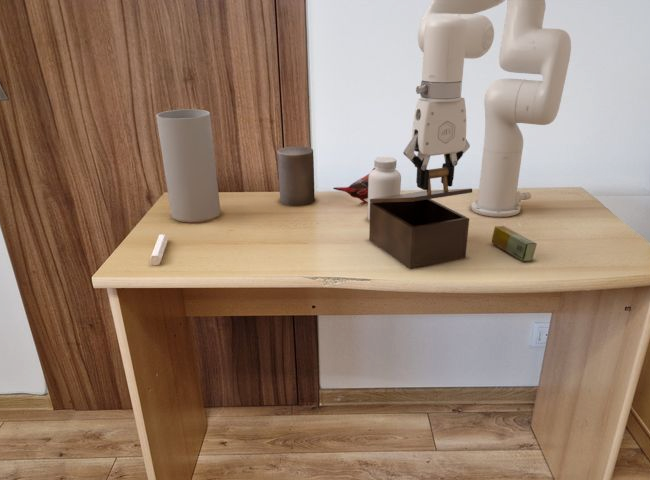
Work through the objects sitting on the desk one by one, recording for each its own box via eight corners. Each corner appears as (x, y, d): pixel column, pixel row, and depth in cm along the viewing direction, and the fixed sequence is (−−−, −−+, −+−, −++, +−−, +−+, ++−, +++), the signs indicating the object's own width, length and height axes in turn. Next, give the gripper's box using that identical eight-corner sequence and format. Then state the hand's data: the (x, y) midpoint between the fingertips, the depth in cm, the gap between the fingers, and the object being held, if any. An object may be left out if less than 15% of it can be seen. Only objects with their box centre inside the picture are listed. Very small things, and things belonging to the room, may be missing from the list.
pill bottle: (397, 225, 152) (399, 163, 145) (365, 223, 154) (365, 162, 146) (401, 215, 159) (403, 155, 151) (370, 213, 160) (371, 154, 153)
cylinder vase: (187, 227, 153) (172, 121, 140) (163, 215, 161) (146, 114, 148) (230, 216, 160) (219, 114, 147) (205, 205, 168) (193, 107, 155)
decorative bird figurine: (389, 201, 170) (391, 164, 165) (336, 213, 161) (336, 174, 156) (383, 198, 172) (384, 161, 167) (330, 210, 163) (329, 172, 158)
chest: (465, 258, 134) (469, 218, 129) (410, 269, 129) (412, 228, 124) (420, 231, 149) (422, 194, 144) (369, 240, 144) (369, 202, 139)
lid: (472, 192, 126) (470, 164, 125) (413, 201, 122) (411, 172, 120) (422, 194, 144) (420, 169, 142) (370, 202, 139) (367, 176, 138)
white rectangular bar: (166, 241, 146) (157, 267, 132) (157, 238, 146) (148, 263, 132) (170, 232, 145) (162, 257, 132) (161, 228, 145) (152, 252, 131)
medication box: (533, 261, 132) (538, 243, 130) (523, 262, 131) (528, 244, 129) (499, 241, 142) (503, 224, 140) (490, 242, 140) (493, 225, 139)
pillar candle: (321, 199, 172) (320, 143, 164) (301, 208, 165) (299, 151, 157) (293, 194, 176) (291, 139, 169) (272, 203, 169) (268, 146, 161)
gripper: (412, 96, 111) (407, 197, 120) (490, 90, 117) (480, 186, 126) (392, 91, 117) (388, 187, 126) (467, 85, 123) (459, 177, 132)
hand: (434, 185), depth 126 cm, fingers closed on lid, 5 cm apart
